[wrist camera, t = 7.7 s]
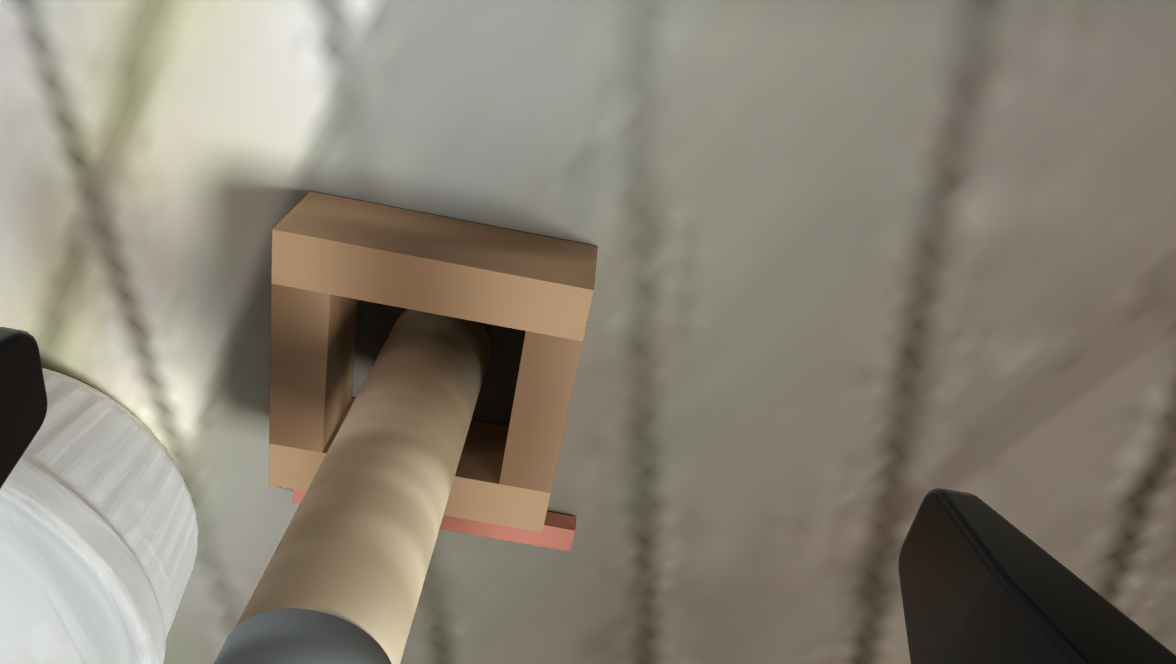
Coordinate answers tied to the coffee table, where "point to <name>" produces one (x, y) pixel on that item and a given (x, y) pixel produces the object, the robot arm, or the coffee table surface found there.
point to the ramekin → (92, 537)
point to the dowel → (371, 507)
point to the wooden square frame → (440, 286)
